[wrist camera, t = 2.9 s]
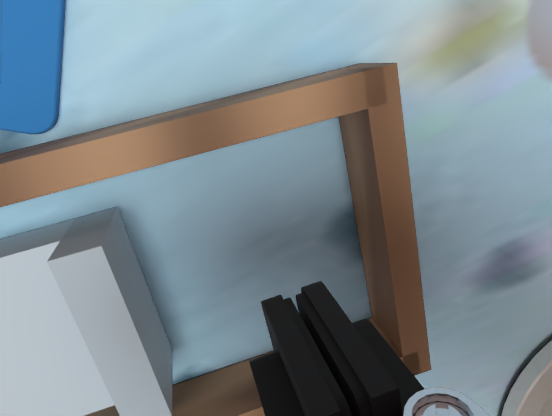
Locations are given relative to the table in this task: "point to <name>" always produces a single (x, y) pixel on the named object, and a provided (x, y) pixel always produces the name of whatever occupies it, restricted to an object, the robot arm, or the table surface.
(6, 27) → the handheld gaming device
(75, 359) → the cover plate
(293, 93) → the wooden frame
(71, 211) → the table surface
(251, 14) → the table surface
